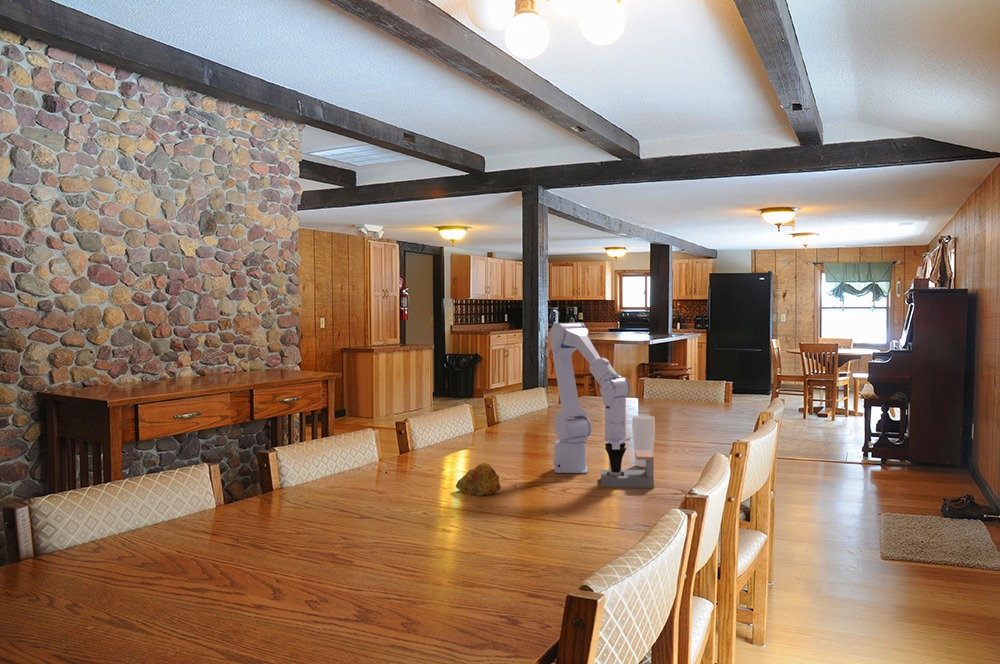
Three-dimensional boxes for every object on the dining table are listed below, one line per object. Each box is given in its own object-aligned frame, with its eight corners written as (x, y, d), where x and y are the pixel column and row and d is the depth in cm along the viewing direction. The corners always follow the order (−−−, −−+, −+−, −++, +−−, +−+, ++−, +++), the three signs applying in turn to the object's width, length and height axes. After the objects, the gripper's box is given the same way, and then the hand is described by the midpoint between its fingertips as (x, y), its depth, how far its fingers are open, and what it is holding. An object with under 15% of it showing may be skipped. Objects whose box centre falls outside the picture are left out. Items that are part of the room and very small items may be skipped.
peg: (620, 479, 199) (620, 450, 198) (608, 479, 199) (608, 450, 199) (621, 477, 202) (621, 448, 202) (609, 476, 203) (609, 448, 202)
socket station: (601, 486, 196) (600, 456, 196) (601, 478, 206) (600, 449, 206) (653, 488, 194) (653, 457, 194) (651, 479, 204) (651, 449, 204)
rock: (467, 511, 189) (447, 480, 193) (484, 509, 196) (464, 479, 200) (496, 485, 186) (475, 454, 190) (512, 483, 193) (491, 453, 197)
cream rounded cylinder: (653, 463, 224) (653, 415, 224) (656, 468, 218) (656, 418, 217) (631, 463, 225) (631, 415, 224) (633, 468, 218) (633, 418, 218)
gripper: (631, 426, 192) (631, 476, 193) (628, 417, 207) (629, 465, 207) (604, 425, 193) (604, 476, 194) (603, 417, 208) (604, 464, 208)
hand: (615, 470), depth 201 cm, fingers closed on peg, 3 cm apart
